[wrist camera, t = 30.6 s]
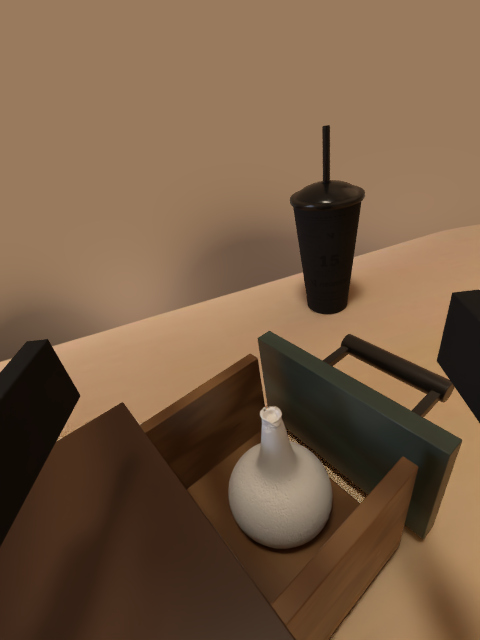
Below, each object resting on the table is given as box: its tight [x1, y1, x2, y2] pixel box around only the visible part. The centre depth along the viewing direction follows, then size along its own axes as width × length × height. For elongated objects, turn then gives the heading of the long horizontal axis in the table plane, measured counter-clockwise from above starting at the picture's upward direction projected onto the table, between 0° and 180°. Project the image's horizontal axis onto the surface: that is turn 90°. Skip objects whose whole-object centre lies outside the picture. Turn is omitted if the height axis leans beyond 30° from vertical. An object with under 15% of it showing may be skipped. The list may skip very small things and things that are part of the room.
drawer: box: [140, 331, 462, 640], centre depth 21 cm, size 22×13×8 cm, turn 129°
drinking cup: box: [290, 125, 365, 314], centre depth 38 cm, size 8×8×20 cm
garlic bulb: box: [228, 406, 332, 549], centre depth 20 cm, size 6×6×8 cm
